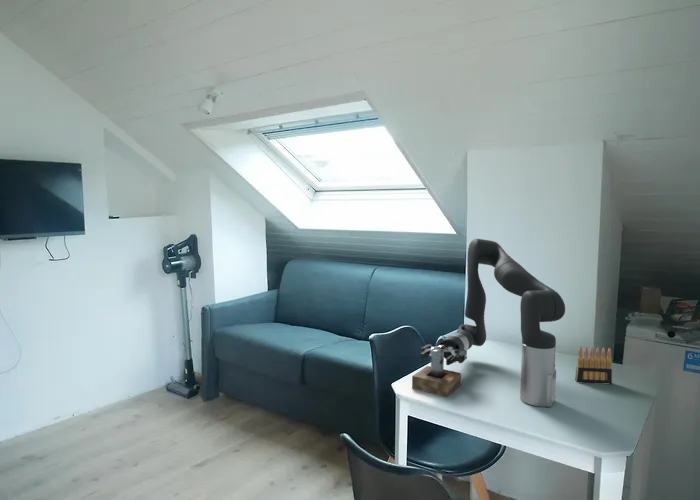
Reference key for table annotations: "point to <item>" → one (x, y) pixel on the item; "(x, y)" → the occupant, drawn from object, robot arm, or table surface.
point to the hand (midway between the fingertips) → (434, 359)
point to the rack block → (436, 381)
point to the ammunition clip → (594, 367)
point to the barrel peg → (437, 363)
